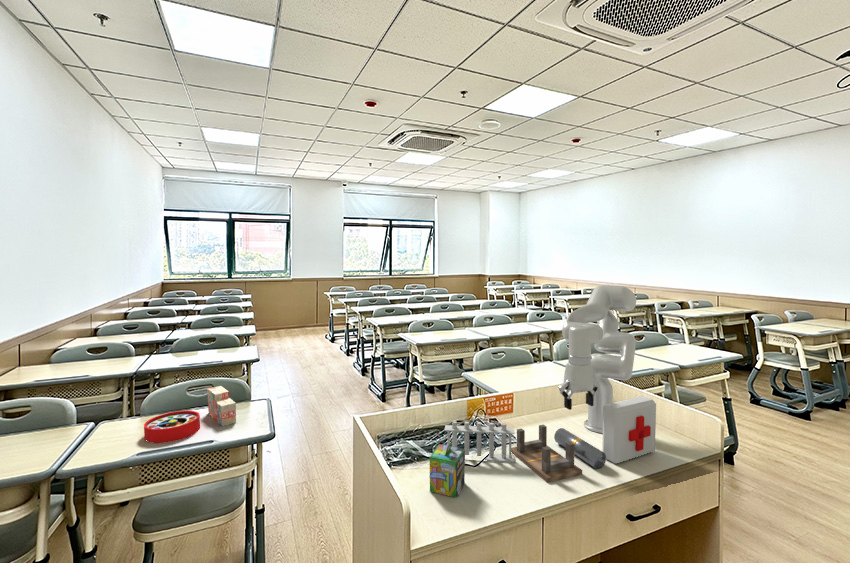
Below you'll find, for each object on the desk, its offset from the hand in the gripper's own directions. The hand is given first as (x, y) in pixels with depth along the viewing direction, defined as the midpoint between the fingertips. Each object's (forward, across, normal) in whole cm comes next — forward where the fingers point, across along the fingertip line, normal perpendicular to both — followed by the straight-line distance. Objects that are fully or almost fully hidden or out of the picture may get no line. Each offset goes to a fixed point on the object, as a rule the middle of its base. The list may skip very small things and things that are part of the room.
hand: (578, 406), depth 144 cm
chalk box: (+18, +53, +2) cm, 56 cm away
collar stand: (+18, +15, 0) cm, 23 cm away
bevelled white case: (+18, -17, +7) cm, 26 cm away
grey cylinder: (+15, 0, 0) cm, 15 cm away
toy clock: (+19, +146, -76) cm, 166 cm away
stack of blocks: (+19, +129, -86) cm, 156 cm away
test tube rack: (+19, +35, -11) cm, 41 cm away
